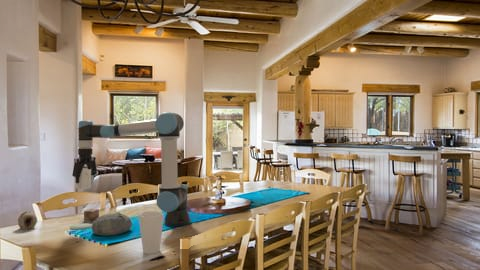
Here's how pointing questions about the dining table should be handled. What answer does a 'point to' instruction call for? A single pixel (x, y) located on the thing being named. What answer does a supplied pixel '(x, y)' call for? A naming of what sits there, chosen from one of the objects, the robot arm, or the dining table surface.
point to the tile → (86, 221)
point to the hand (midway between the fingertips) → (84, 187)
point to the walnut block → (91, 214)
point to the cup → (151, 231)
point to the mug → (85, 178)
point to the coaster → (81, 226)
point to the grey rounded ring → (27, 220)
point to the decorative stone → (111, 224)
